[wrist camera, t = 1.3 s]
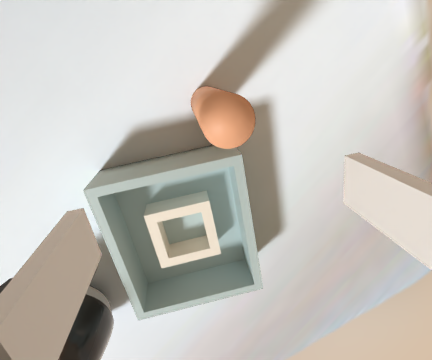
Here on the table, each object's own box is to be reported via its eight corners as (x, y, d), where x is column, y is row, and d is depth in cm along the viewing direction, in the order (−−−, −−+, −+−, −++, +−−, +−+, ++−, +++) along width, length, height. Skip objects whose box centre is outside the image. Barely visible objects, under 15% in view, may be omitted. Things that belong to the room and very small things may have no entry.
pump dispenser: (102, 262, 36) (54, 381, 22) (129, 315, 40) (103, 446, 26) (27, 283, 35) (-71, 418, 21) (62, 335, 39) (-1, 477, 25)
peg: (187, 89, 29) (195, 99, 16) (219, 83, 30) (251, 87, 17) (194, 121, 31) (207, 154, 18) (224, 115, 31) (258, 142, 18)
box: (99, 170, 31) (83, 190, 26) (230, 141, 32) (241, 154, 27) (143, 285, 38) (138, 320, 33) (250, 258, 39) (263, 288, 33)
